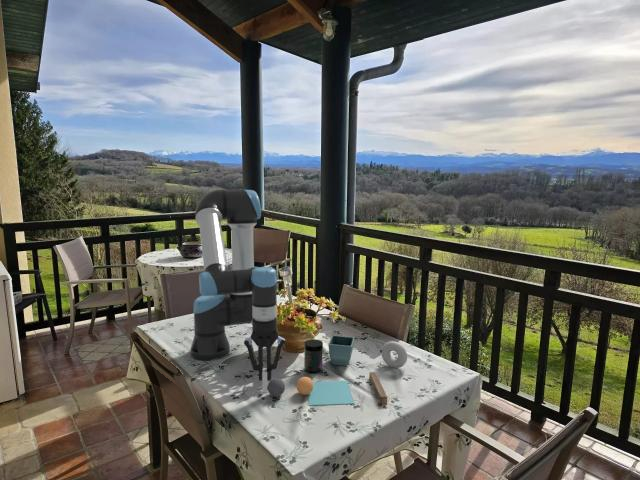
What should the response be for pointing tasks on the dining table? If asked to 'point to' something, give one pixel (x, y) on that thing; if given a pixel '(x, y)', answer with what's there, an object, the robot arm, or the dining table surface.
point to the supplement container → (313, 356)
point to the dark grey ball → (276, 387)
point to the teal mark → (330, 393)
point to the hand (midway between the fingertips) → (265, 389)
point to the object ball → (304, 385)
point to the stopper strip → (378, 388)
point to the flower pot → (340, 349)
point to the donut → (398, 349)
